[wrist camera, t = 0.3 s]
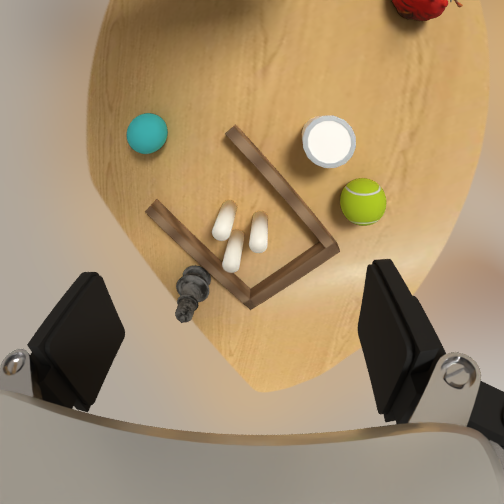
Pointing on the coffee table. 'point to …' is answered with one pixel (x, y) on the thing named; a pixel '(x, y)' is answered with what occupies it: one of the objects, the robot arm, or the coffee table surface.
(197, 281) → the dark gray figurine
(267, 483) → the robot arm
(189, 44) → the coffee table surface
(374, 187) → the tennis ball
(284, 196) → the bumper lane
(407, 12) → the red rounded lumpy piece
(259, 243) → the pin
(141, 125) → the ball
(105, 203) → the coffee table surface
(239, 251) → the pin
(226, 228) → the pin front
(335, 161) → the white cup
